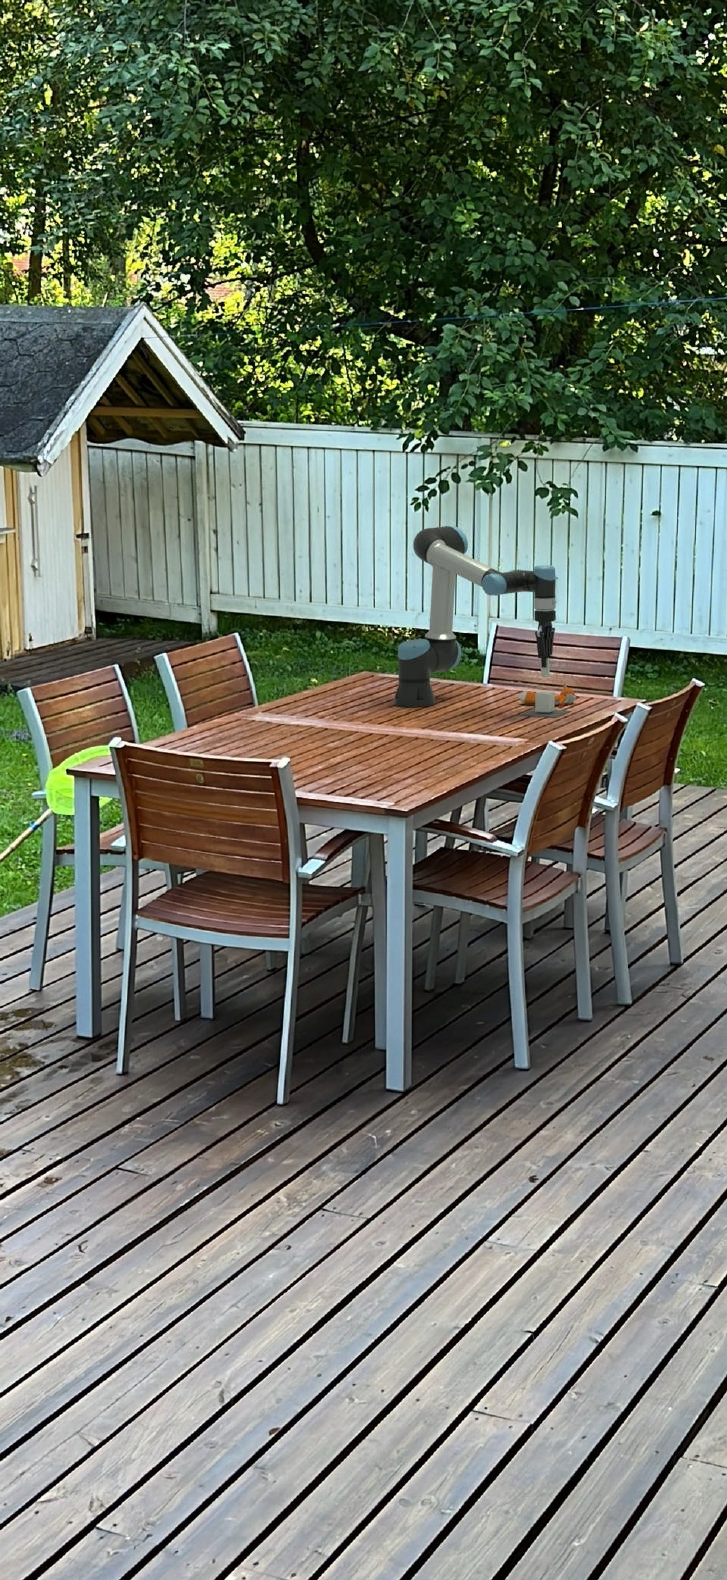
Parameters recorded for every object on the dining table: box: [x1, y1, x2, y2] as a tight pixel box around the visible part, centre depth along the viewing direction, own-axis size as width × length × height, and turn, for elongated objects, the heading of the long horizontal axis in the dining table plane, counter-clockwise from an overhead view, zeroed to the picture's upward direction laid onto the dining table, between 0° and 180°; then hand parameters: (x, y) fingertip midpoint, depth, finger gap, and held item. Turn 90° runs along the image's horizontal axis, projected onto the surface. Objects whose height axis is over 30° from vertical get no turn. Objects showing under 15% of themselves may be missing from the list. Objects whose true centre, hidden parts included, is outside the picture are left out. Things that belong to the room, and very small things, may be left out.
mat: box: [518, 708, 572, 719], centre depth 639 cm, size 14×14×1 cm
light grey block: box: [534, 690, 556, 712], centre depth 638 cm, size 5×5×7 cm
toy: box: [516, 681, 578, 709], centre depth 657 cm, size 8×22×15 cm
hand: (545, 676), depth 636 cm, fingers closed
